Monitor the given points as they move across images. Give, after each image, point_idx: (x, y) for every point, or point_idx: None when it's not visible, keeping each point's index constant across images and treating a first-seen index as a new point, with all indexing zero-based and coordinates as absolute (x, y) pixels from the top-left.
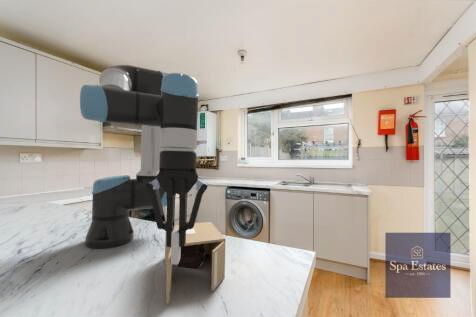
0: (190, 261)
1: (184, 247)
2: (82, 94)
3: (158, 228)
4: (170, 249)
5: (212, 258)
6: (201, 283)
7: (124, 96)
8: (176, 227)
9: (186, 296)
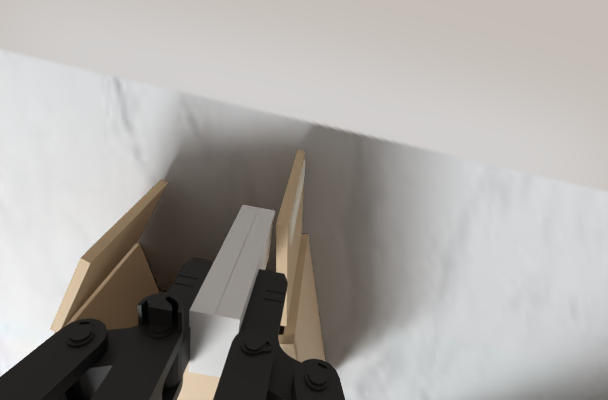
0: None
1: None
2: None
3: (329, 365)
4: (284, 315)
5: (107, 241)
6: (204, 231)
7: None
8: None
9: (247, 180)
